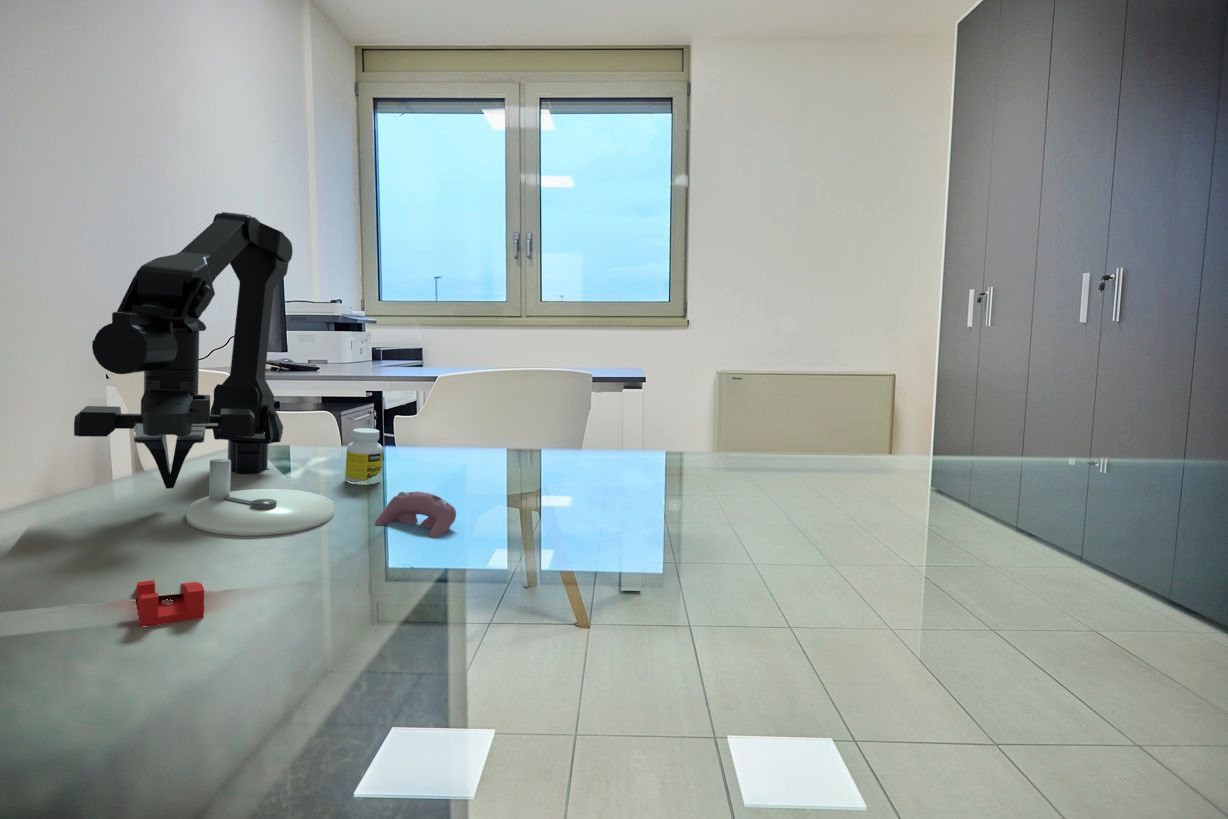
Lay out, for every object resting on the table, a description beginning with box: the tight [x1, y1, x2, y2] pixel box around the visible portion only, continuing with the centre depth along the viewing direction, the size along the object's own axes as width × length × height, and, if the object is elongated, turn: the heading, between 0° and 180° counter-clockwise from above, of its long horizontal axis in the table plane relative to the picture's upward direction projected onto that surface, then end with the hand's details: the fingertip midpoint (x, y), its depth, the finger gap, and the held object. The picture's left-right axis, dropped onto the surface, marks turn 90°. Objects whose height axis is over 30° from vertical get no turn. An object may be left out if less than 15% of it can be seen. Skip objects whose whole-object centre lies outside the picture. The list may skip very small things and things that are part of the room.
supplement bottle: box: [344, 427, 384, 483], centre depth 108 cm, size 5×5×10 cm
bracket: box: [134, 579, 205, 627], centre depth 63 cm, size 6×5×3 cm
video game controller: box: [374, 491, 457, 539], centre depth 90 cm, size 10×5×7 cm, turn 71°
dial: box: [185, 458, 335, 537], centre depth 87 cm, size 17×17×6 cm
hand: (169, 487), depth 86 cm, fingers closed
